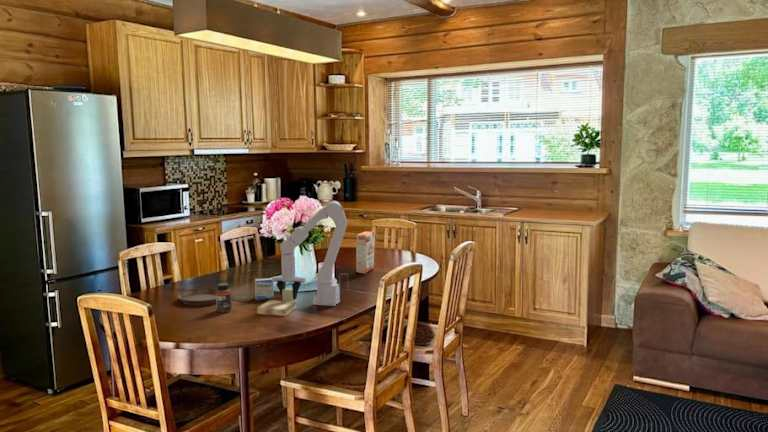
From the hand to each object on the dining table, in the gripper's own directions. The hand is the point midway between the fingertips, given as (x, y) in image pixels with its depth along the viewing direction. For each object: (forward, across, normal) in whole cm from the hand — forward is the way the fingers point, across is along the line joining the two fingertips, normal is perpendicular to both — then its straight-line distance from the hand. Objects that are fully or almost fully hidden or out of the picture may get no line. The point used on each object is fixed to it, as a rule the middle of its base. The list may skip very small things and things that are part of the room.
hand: (289, 298), depth 249 cm
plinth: (+2, +1, +11) cm, 11 cm away
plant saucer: (+2, +39, +3) cm, 39 cm away
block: (+2, 0, 0) cm, 2 cm away
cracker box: (+3, -17, -67) cm, 69 cm away
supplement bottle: (+2, +22, +16) cm, 27 cm away
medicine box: (+2, +14, -6) cm, 16 cm away
